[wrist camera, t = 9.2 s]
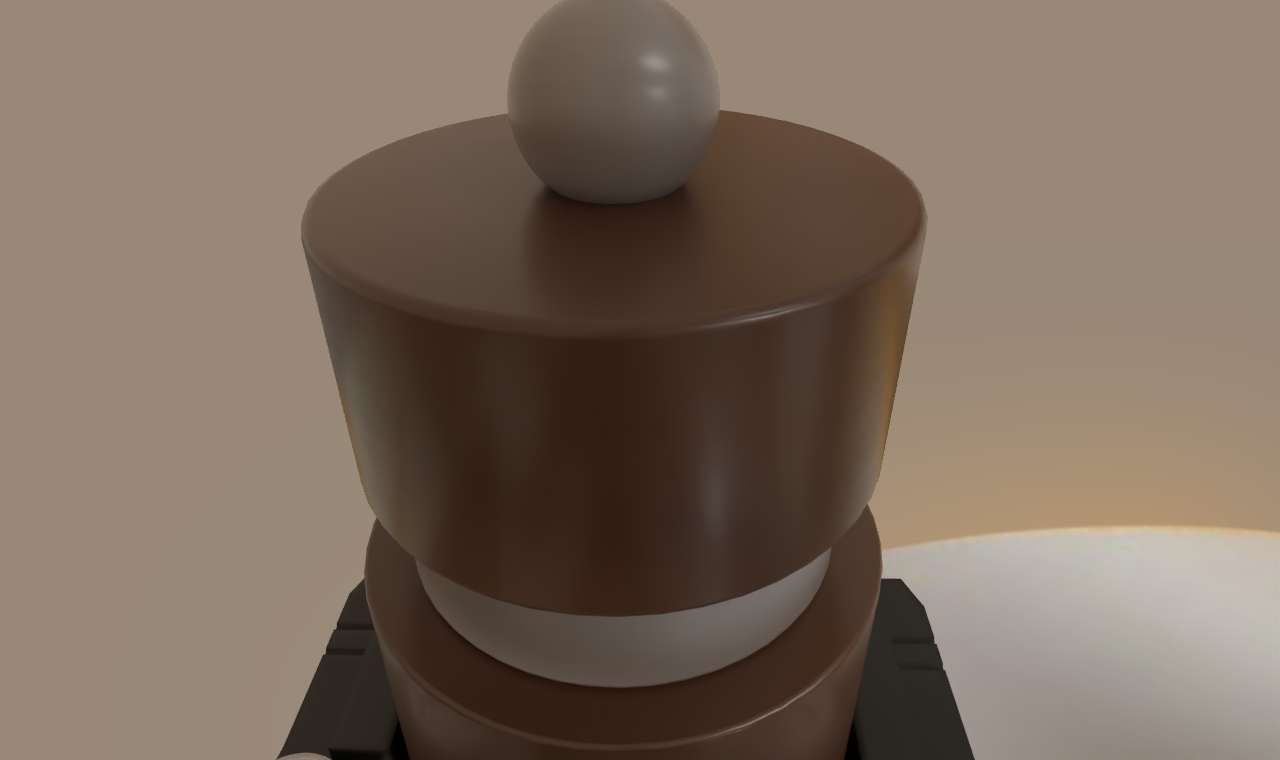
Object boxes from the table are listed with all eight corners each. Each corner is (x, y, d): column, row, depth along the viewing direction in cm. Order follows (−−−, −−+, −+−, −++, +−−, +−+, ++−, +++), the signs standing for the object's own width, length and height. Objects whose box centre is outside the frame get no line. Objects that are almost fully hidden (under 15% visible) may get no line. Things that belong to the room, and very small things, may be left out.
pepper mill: (738, 872, 18) (838, -56, 8) (812, 1195, 14) (1212, 45, 4) (498, 908, 17) (303, -44, 8) (496, 1259, 13) (49, 93, 3)
